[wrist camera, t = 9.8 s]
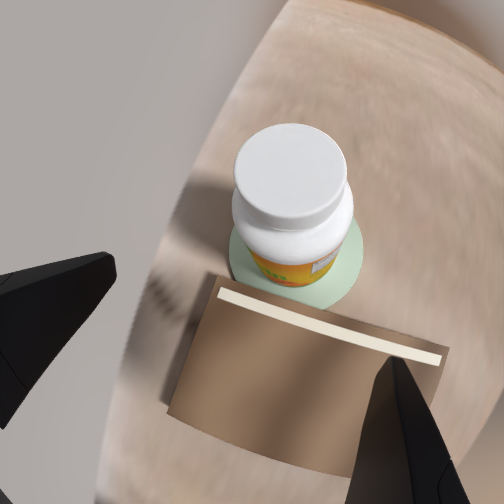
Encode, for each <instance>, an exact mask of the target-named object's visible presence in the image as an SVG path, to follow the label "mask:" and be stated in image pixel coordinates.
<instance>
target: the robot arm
mask: <svg viewBox="0 0 504 504" xmlns="http://www.w3.org/2000/svg"><path fill="white" fill-rule="evenodd" d="M116 277H117V273H116V266H115V259H114V257H113V256H112V255H111V254H109V253H107V252H99V253H94V254H89V255H85V256H80V257H76V258H71V259H67V260H63V261H58V262H54V263H49V264H45V265H41V266H37V267H33V268H28V269H24V270H20V271H16V272H12V273H8V274H4V275H0V428H1V429H4V428H5V427H6V426H7V424H8V422H9V421H10V419H11V418H12V416H13V415H14V413H15V412H16V410H17V409H18V407H19V406H20V405H21V403H22V402H23V400H24V399H25V398H26V396H27V395H28V393H29V391H30V390H31V389H32V388H33V386H34V385H35V383H36V382H37V381H38V379H39V378H40V377H41V375H42V374H43V373H44V371H45V370H46V369H47V367H48V366H49V365H50V364H51V362H52V361H53V360H54V358H55V357H56V356H57V355H58V353H59V352H60V351H61V350H62V348H63V347H64V346H65V345H66V343H67V342H68V341H69V340H70V338H71V337H72V336H73V335H74V334H75V333H76V331H77V330H78V329H79V328H80V327H81V325H82V324H83V323H84V322H85V321H86V320H87V318H88V317H89V316H90V315H91V314H92V312H93V311H94V310H95V308H96V307H97V305H98V304H99V303H100V301H101V300H102V299H103V297H104V296H105V294H106V293H107V292H108V290H109V289H110V288H111V286H112V285H113V284H114V282H115V280H116ZM450 458H451V457H450V455H449V452H448V450H447V447H446V445H445V443H444V440H443V438H442V436H441V433H440V431H439V429H438V427H437V425H436V422H435V420H434V418H433V416H432V414H431V412H430V410H429V407H428V405H427V403H426V401H425V399H424V397H423V395H422V393H421V391H420V389H419V387H418V385H417V383H416V381H415V379H414V377H413V375H412V373H411V371H410V370H409V368H408V366H407V364H406V362H405V360H404V359H403V358H400V357H396V356H389V357H388V358H387V360H386V361H385V363H384V364H383V366H382V367H381V368H380V370H379V371H378V373H377V374H376V377H375V380H374V384H373V388H372V392H371V396H370V400H369V404H368V407H367V411H366V415H365V418H364V422H363V426H362V431H361V436H360V441H359V446H358V451H357V456H356V461H355V465H354V470H353V474H352V478H351V482H350V486H349V490H348V493H347V497H346V501H345V504H470V502H469V500H468V497H467V495H466V493H465V491H464V489H463V486H462V484H461V482H460V479H459V477H458V474H457V472H456V469H455V467H454V464H453V462H452V460H450ZM0 504H13V503H12V502H11V501H10V500H9V499H8V498H7V496H6V495H5V494H4V493H3V492H2V490H1V489H0Z"/></svg>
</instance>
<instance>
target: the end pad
mask: <svg viewBox="0 0 504 504" xmlns="http://www.w3.org/2000/svg"><path fill="white" fill-rule="evenodd" d="M229 260H230V265H231V269H232V272H233V274H234V277H235V279H236V281H237V282H239V283H242V284H245V285H248V286H251V287H254V288H257V289H260V290H263V291H266V292H269V293H272V294H275V295H278V296H281V297H284V298H287V299H290V300H293V301H296V302H299V303H302V304H305V305H308V306H311V307H314V308H317V309H320V310H324V309H326V308H328V307H330V306H332V305H333V304H334V303H336V302H337V301H339V300H340V299H341V298H342V297H343V296H344V295H345V294H346V293H347V292H348V291H349V289H350V288H351V287H352V285H353V284H354V282H355V280H356V279H357V276H358V274H359V271H360V269H361V265H362V260H363V241H362V235H361V232H360V229H359V226H358V224H357V222H356V220H355V218H354V217H353V216H352V220H351V224H350V227H349V230H348V232H347V235H346V237H345V239H344V241H343V244H342V246H341V248H340V250H339V253H338V255H337V257H336V259H335V261H334V263H333V265H332V267H331V268H330V270H329V271H328V273H327V274H326V275H325V276H324V277H323V278H321V279H320V280H319V281H317V282H316V283H314V284H312V285H309V286H306V287H302V288H287V287H283V286H280V285H277V284H275V283H273V282H272V281H270V280H269V279H268V278H267V277H266V276H265V275H264V274H263V273H262V272H261V271H260V269H259V268H258V266H257V264H256V263H255V261H254V259H253V257H252V255H251V254H250V252H249V250H248V249H247V247H246V245H245V244H244V242H243V240H242V238H241V237H240V235H239V233H238V231H237V229H236V226H235V224H234V227H233V229H232V232H231V236H230V241H229Z"/></svg>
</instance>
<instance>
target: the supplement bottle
mask: <svg viewBox="0 0 504 504" xmlns="http://www.w3.org/2000/svg"><path fill="white" fill-rule="evenodd" d="M233 172H234V180H235V184H236V187H235V189H234V192H233V197H232V215H233V220H234V223H235V226H236V229H237V231H238V233H239V235H240V237H241V238H242V240H243V242H244V244H245V245H246V247H247V249H248V250H249V252H250V254H251V255H252V257H253V259H254V261H255V263H256V264H257V266H258V268H259V269H260V271H261V272H262V273H263V274H264V275H265V276H266V277H267V278H268V279H269V280H270V281H272V282H273V283H275V284H277V285H280V286H283V287H287V288H302V287H306V286H309V285H312V284H314V283H316V282H317V281H319V280H320V279H321V278H323V277H324V276H325V275H326V274H327V273H328V271H329V270H330V268H331V267H332V265H333V263H334V261H335V259H336V257H337V255H338V253H339V250H340V248H341V246H342V244H343V241H344V239H345V237H346V235H347V232H348V230H349V227H350V224H351V220H352V216H353V197H352V192H351V189H350V186H349V184H348V182H347V180H346V177H347V167H346V161H345V158H344V155H343V153H342V151H341V149H340V148H339V146H338V145H337V144H336V143H335V141H334V140H333V139H332V138H330V137H329V136H328V135H327V134H325V133H323V132H322V131H320V130H318V129H316V128H314V127H311V126H307V125H303V124H295V123H286V124H278V125H274V126H270V127H267V128H265V129H263V130H261V131H259V132H257V133H256V134H254V135H253V136H251V137H250V138H249V139H248V140H247V141H246V142H245V143H244V144H243V145H242V147H241V148H240V150H239V152H238V154H237V156H236V159H235V163H234V171H233Z"/></svg>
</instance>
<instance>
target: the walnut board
mask: <svg viewBox="0 0 504 504" xmlns="http://www.w3.org/2000/svg"><path fill="white" fill-rule="evenodd" d="M449 348H450V347H446V346H442V345H439V344H435V343H431V342H428V341H424V340H421V339H417V338H413V337H410V336H406V335H403V334H399V333H396V332H393V331H389V330H386V329H382V328H379V327H376V326H372V325H369V324H366V323H362V322H359V321H356V320H352V319H349V318H346V317H343V316H340V315H336V314H333V313H330V312H327V311H324V310H320V309H317V308H314V307H311V306H308V305H305V304H302V303H299V302H296V301H293V300H290V299H287V298H284V297H281V296H278V295H275V294H272V293H269V292H266V291H263V290H260V289H257V288H254V287H251V286H248V285H245V284H242V283H239V282H237V281H234V280H231V279H228V278H225V277H222V276H220V275H218V276H217V279H216V282H215V284H214V287H213V289H212V292H211V294H210V297H209V300H208V302H207V305H206V308H205V310H204V313H203V315H202V318H201V321H200V323H199V326H198V329H197V331H196V334H195V337H194V339H193V342H192V345H191V347H190V350H189V353H188V356H187V358H186V361H185V364H184V366H183V369H182V372H181V375H180V377H179V380H178V383H177V386H176V389H175V391H174V394H173V397H172V400H171V403H170V405H169V408H168V411H167V414H168V415H170V416H172V417H174V418H176V419H178V420H180V421H182V422H184V423H186V424H188V425H190V426H192V427H194V428H196V429H198V430H200V431H202V432H205V433H207V434H209V435H211V436H214V437H216V438H218V439H221V440H223V441H225V442H228V443H230V444H233V445H235V446H238V447H240V448H243V449H246V450H248V451H251V452H254V453H257V454H260V455H263V456H265V457H268V458H272V459H275V460H278V461H281V462H284V463H288V464H291V465H295V466H298V467H302V468H306V469H310V470H314V471H318V472H322V473H327V474H332V475H337V476H342V477H347V478H352V474H353V470H354V465H355V461H356V456H357V451H358V446H359V441H360V436H361V431H362V426H363V422H364V418H365V415H366V411H367V407H368V404H369V400H370V396H371V392H372V388H373V384H374V380H375V377H376V374H377V373H378V371H379V370H380V368H381V367H382V366H383V364H384V363H385V361H386V360H387V358H388V357H389V356H396V357H400V358H403V359H404V360H405V362H406V364H407V366H408V368H409V370H410V371H411V373H412V375H413V377H414V379H415V381H416V383H417V385H418V387H419V389H420V391H421V393H422V395H423V397H424V399H425V401H426V403H427V405H428V407H429V408H430V405H431V403H432V400H433V398H434V395H435V392H436V389H437V387H438V384H439V381H440V378H441V375H442V372H443V368H444V365H445V362H446V358H447V355H448V351H449Z"/></svg>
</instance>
